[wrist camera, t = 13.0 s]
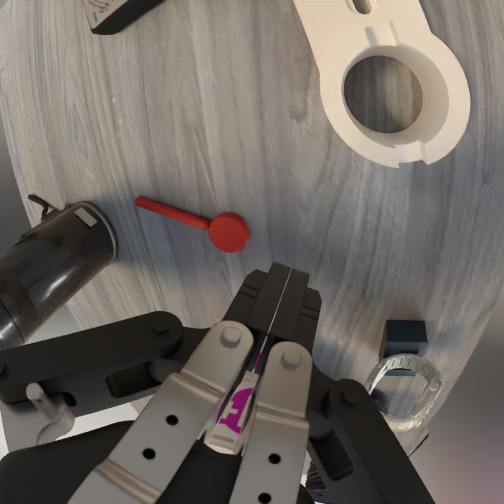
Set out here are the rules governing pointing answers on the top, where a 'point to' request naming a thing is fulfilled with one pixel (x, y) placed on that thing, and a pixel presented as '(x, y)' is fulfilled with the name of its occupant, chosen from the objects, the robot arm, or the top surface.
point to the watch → (406, 368)
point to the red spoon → (207, 225)
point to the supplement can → (234, 414)
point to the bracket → (402, 49)
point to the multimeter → (114, 13)
